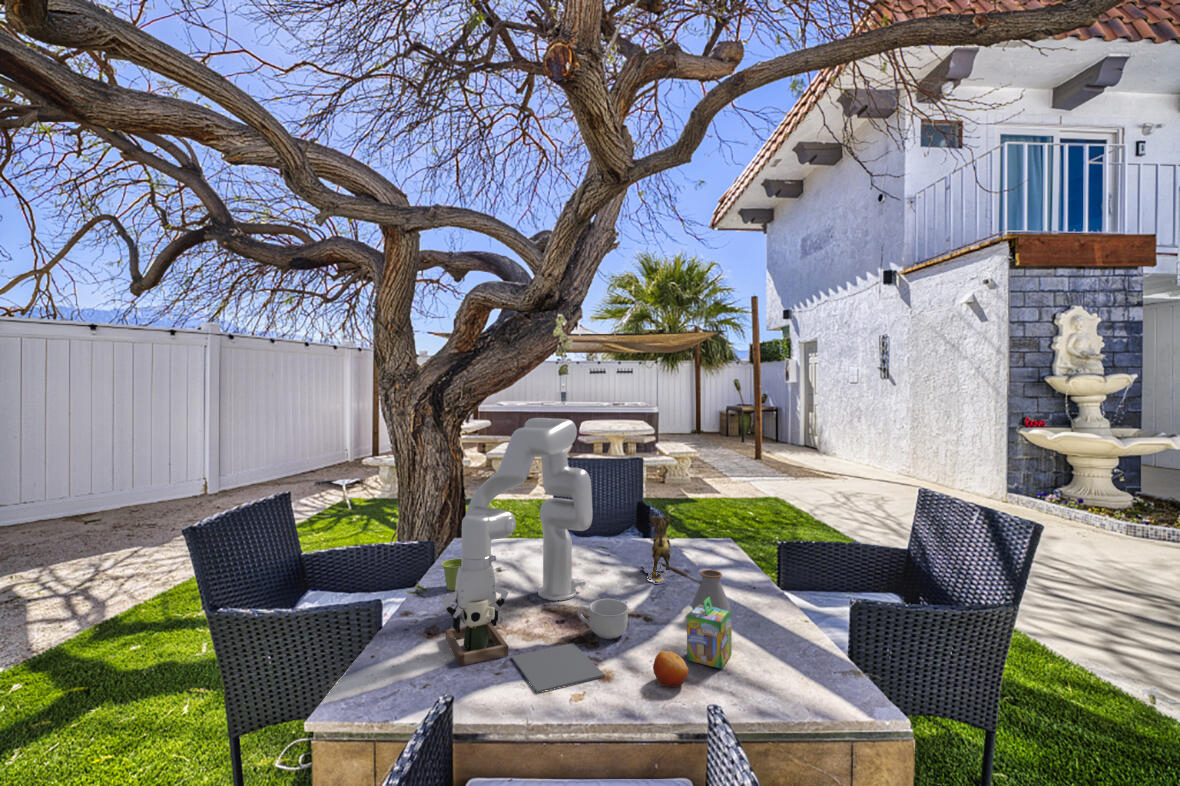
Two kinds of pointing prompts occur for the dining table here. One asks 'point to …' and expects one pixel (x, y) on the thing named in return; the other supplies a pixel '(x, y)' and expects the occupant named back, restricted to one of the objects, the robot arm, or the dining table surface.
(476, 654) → the collar
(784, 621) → the dining table surface
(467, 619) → the character mug
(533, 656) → the rubber mat
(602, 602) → the teacup
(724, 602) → the coffee pot
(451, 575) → the plant pot
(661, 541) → the figurine
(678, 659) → the fruit
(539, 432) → the robot arm
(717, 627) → the chalk box
